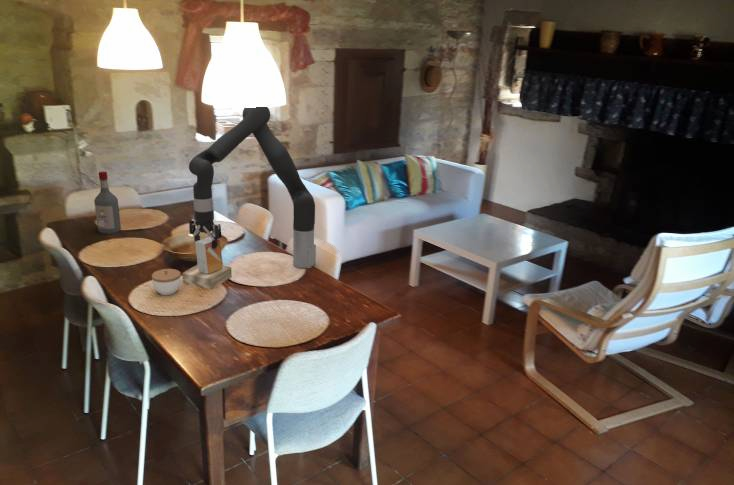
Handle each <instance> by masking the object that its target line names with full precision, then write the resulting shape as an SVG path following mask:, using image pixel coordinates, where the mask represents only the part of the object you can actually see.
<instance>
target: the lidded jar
mask: <svg viewBox="0 0 734 485" xmlns="http://www.w3.org/2000/svg"><path fill="white" fill-rule="evenodd" d="M181 276H182V273H181V272H180V271H179V270H178V269H174V268H164V269H158V270H156V271H154V272H153V273H152V274H151V280H152V285H153V288H154V290H155V291H156V292H158V293H159V294H160V295H162V296H170V295H174V294H175V293H176V292H177V291H178V289H179V288H180V285H181V280H182V279H181Z"/></svg>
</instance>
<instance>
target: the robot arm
mask: <svg viewBox="0 0 734 485" xmlns="http://www.w3.org/2000/svg"><path fill="white" fill-rule="evenodd" d="M241 115H242V120H240V122H239V123H237V124H236V125H234V127H232V128H231V129H230V130H228V131H227V132H225V133H224V134H222V135H221V136H220V137H219V138H218V139H217V140H215V141H214V142H213V143H212V144H211V145H210V146H209V147H208V148H206V149H204V150H203V151H201V152H199V153H198V154H196V155H195V156H194V157H192V159H191V160H190V161H189V164H188V170H189V172H190V173H191V174H192V175H194V176H195V177H196V182H195V183H194V184H193V188H192V189H193V190H192V191H193V192H192V193H193V213H194V215H193V216H194V218H192V219H190V220H189V223H188V224H189V225H188V227H189V234H190V235H192V236H193V239H194V243H195V242H196V241H199V240H201V237H200V236H201V235H200V234H201V233H204V234H207V235H208V237H211V239H212V248H213V249H215V248H217V247H218V239H220V240H221V239H222V238H223V236H222V235H223V234H222V228H221V227H222V226H221V224H220V223H218V224H216V223H215V222H214V220H215V211H214V210H215V209H214V200H213V199H214V198H213V188H212V187H213V181H214V176H215V170H214V166H213V164H215V163H221V162H223V160H225V159H226V157H228V156H229V155H230V154H231V153H232V152H233V151H234V150H235V149H236V148H237V147H239V145H240V144H241V143H242V142H244V140H246V139H247V138H248V137H249V136H250V135H253V137H254V138H255V139H256V141H257V142H258V145H259V147H260V148H261V150H262V152H263V154H264V156H265V158H266V160H267V162H268V163H269V165H270V167H271V169H272V170H273V172H274V173H275V175H276V176H277V178H278V179H279V180H280V181H281V182H282V183H283V185H284V186H285V188H286V190H287V192H288V194H289V196H290V199H291V201H292V206H293V220H292V221H293V224H292V226H293V227H292V232H293V234H292V238H293V239H292V240H293V242H292V244H293V246H292V247H293V250H292V262H293V263H292V264H293V266H294V267H295V268H298V269H311V268H312V267H314V265H316V259H317V258H316V255H317V254H316V253H317V252H316V251H317V249H316V248H317V245H316V244H315V224H316V223H315V222H316V202H315V199H314V196H313V194H311V192H310V191H309V189H308V188H307V187H306V185H305V184H304V182H303V181H302V178H301V177H300V175H299V171H298V169H297V166H296V165H295V162H294V160H293V158H292V156H291V154H290V153H289V151H288V149H287V148H286V147H285V146H284V144H283V143H282V142H281V140H280V139H278V138H277V137H276V135H275V134H274V133H273V132H272V131H271V128H270V127H269V125H268V123H269V121H270V118H271V110H270V109H269V107H268V106H267V107H256V108H245V107H244V108H243V110H242V114H241Z"/></svg>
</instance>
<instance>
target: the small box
mask: <svg viewBox="0 0 734 485" xmlns="http://www.w3.org/2000/svg"><path fill="white" fill-rule="evenodd" d="M194 243H195V253H196V262H197V263H196V264H197V265H198V271H199V272H203V273H206V274H209V273H212V272H214V271H217V270H220V269H223V257H222V256H223V255H222V254H223V253H222V244H221V238H220V239H218V247H217V248H215V249H213V248H212V239H211V237H210V236H208V237H206V238H205V237H204V238H200V240H199V241H196V242H195V241H194Z"/></svg>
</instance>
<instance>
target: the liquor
mask: <svg viewBox="0 0 734 485" xmlns="http://www.w3.org/2000/svg"><path fill="white" fill-rule="evenodd" d="M98 178H99V187H100V190H99V191H100V192H99V193H98V194H97V196H95V198H94V200H93V201H94V202H93V203H94V210H95V216H96V217H95V218H96V224H97V231H98V232H99V233H100V234H106V235H111V234H116V233H118V232H120V231H121V229H122V226H121V217H120V209H119V208H120V207H119V201H118V197H117V196H116V195H114V194H113V193H112V192H111V191H110V189H109V180H108V172H107V171H98Z"/></svg>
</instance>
